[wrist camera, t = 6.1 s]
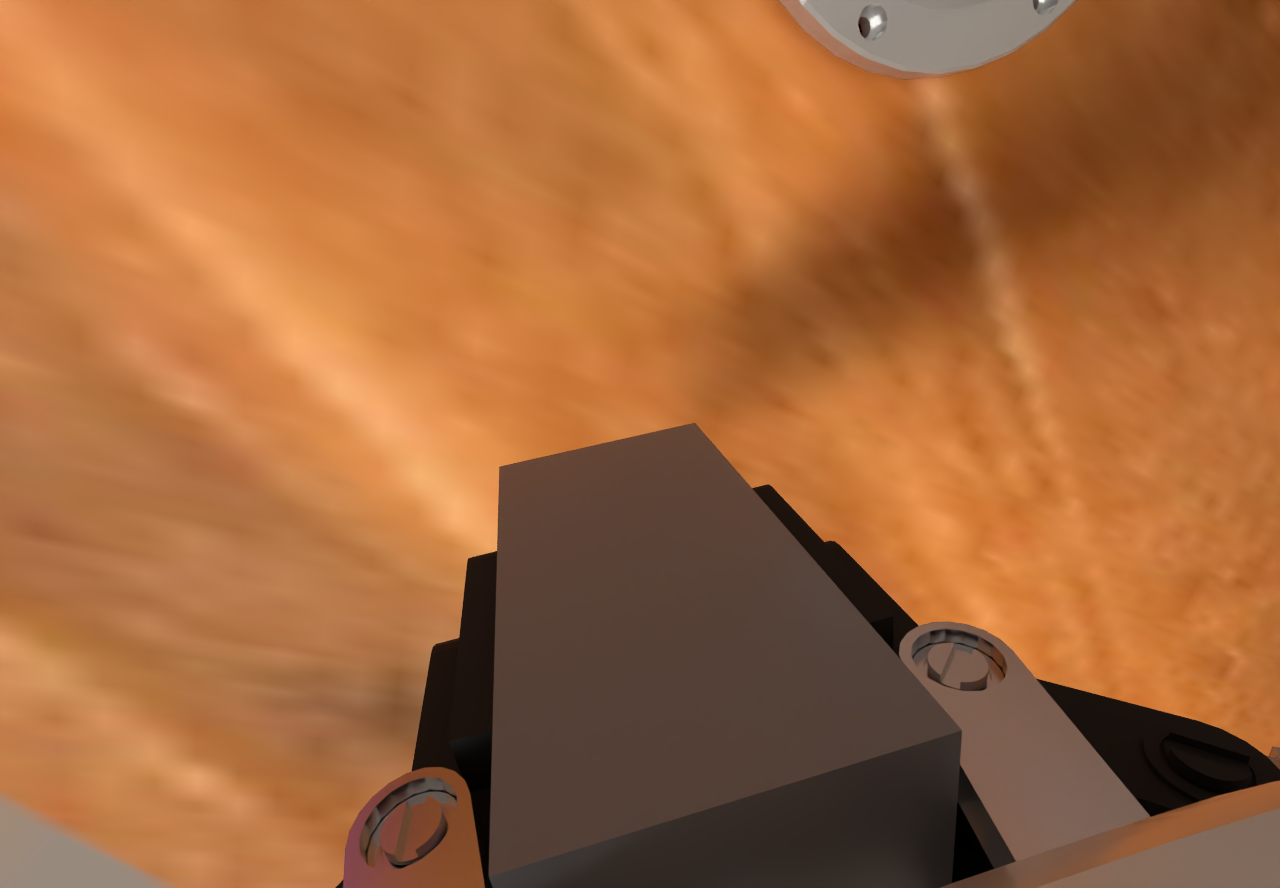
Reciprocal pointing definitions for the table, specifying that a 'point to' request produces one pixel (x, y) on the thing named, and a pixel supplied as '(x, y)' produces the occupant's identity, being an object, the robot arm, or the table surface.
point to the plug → (696, 692)
